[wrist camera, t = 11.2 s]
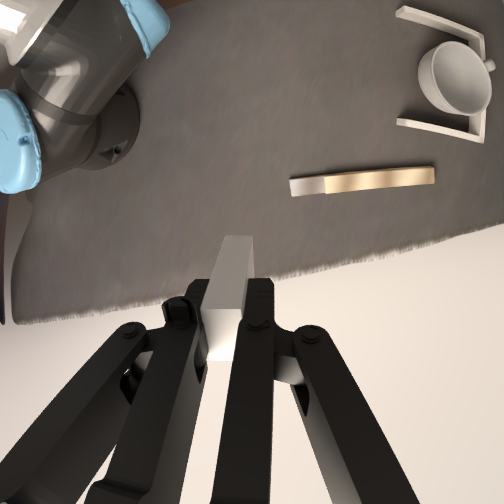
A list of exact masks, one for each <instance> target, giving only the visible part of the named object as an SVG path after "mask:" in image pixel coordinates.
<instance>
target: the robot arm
mask: <svg viewBox="0 0 504 504" xmlns="http://www.w3.org/2000/svg"><path fill="white" fill-rule="evenodd" d="M169 30H170V19H169V17H168V15H167V14H166V12H165V11H164V10H163V9H162V7H161V6H160V5H159V4H158V3H157V1H156V0H0V44H3V45H4V46H5V47H6V51H7V55H8V59H9V63H10V64H11V65H14V66H17V67H19V68H21V69H20V70H19V72H18V74H17V76H16V77H15V79H14V81H13V83H12V85H11V87H10V88H9V90H8V89H1V90H0V191H1V192H3V193H10V194H11V193H17V192H20V191H23V190H27V189H32V188H33V187H35V186H36V185H37V184H39V183H41V182H43V181H46V180H48V179H50V178H52V177H55V176H57V175H59V174H61V173H64V172H66V171H68V170H71V169H73V168H81V169H87V170H98V169H103V168H106V167H108V166H111V165H113V164H115V163H117V162H118V161H120V160H121V159H122V158H123V157H124V156H125V155H126V154H127V153H128V152H129V151H130V149H131V148H132V146H133V144H134V142H135V140H136V137H137V134H138V130H139V122H140V115H139V108H138V104H137V101H136V99H135V97H134V95H133V93H132V92H131V91H130V89H129V88H128V87H127V86H126V85H124V84H123V83H124V82H125V80H126V79H127V78H128V77H129V76H130V75H131V74H132V72H133V71H134V70H135V69H136V68H137V67H138V66H139V65H140V63H141V62H142V61H143V60H144V59H145V58H148V57H149V56H150V55H151V51H152V50H153V49H154V48H155V47H156V46H157V45H158V44H159V43H160V41H161V40H162V39H163V38H164V37H165V36H166V35H167V33H168V32H169ZM162 310H163V314H164V318H165V321H166V323H165V325H164V327H161V328H157V329H151V330H146V328H145V326H144V325H143V324H142V323H139V322H129V323H126V324H123V325H121V326H120V327H119V328H118V329H117V330H116V331H115V332H114V333H113V334H112V335H111V336H110V337H109V338H108V339H107V340H106V341H105V342H104V343H103V345H102V346H101V347H100V348H99V349H98V350H97V351H96V352H95V353H94V354H93V355H92V356H91V358H90V359H89V360H88V361H87V362H86V363H85V364H84V365H83V366H82V367H81V369H80V370H79V371H78V372H77V373H76V374H75V375H74V376H73V377H72V379H71V380H70V381H69V382H68V383H67V384H66V385H65V386H64V388H63V389H62V390H61V391H60V392H59V393H58V394H57V395H56V397H55V398H54V399H53V400H52V401H51V402H50V404H49V405H48V406H47V407H46V408H45V409H44V410H43V412H42V413H41V414H40V415H39V416H38V418H37V419H36V420H35V421H34V422H33V424H32V425H31V426H30V427H29V428H28V429H27V431H26V432H25V433H24V434H23V435H22V437H21V438H20V439H19V440H18V442H17V443H16V444H15V445H14V447H13V448H12V449H11V450H10V451H9V453H8V454H7V455H6V456H5V458H4V459H3V460H2V461H1V463H0V504H76V502H77V501H78V499H79V498H80V496H81V495H82V494H83V492H84V491H85V489H86V488H87V486H88V485H89V483H90V482H91V480H92V479H93V477H94V476H95V475H96V473H97V472H98V470H99V469H100V467H101V466H102V464H103V463H104V461H105V460H106V458H107V457H108V455H109V454H110V452H111V451H112V450H113V448H114V447H115V445H116V447H115V450H114V453H113V456H112V458H111V461H110V464H109V467H108V470H107V473H106V475H105V477H104V478H103V479H102V480H99V481H96V482H94V483H93V484H92V485H91V487H90V489H89V490H88V493H87V496H86V499H85V501H84V504H179V502H180V497H181V491H182V487H183V482H184V477H185V472H186V467H187V463H188V458H189V453H190V448H191V444H192V439H193V434H194V429H195V425H196V420H197V416H198V410H199V406H200V402H201V397H202V393H203V388H204V383H205V379H206V374H207V369H208V367H207V361H206V359H207V354H208V353H209V358H210V360H222V361H233V362H232V368H231V374H230V381H229V387H228V394H227V400H226V407H225V413H224V419H223V426H222V432H221V439H220V445H219V452H218V459H217V465H216V471H215V478H214V484H213V491H212V497H211V501H210V504H270V484H271V460H272V431H273V392H274V380H277V381H281V382H285V383H289V384H290V387H291V390H292V393H293V395H294V398H295V401H296V404H297V407H298V409H299V412H300V415H301V418H302V421H303V423H304V426H305V429H306V432H307V435H308V437H309V440H310V443H311V446H312V448H313V451H314V454H315V457H316V459H317V462H318V465H319V468H320V470H321V473H322V476H323V479H324V481H325V484H326V487H327V489H328V492H329V495H330V498H331V500H332V503H333V504H420V503H419V501H418V499H417V497H416V495H415V493H414V491H413V489H412V487H411V485H410V483H409V481H408V479H407V477H406V475H405V473H404V471H403V469H402V467H401V466H400V464H399V462H398V460H397V458H396V456H395V454H394V452H393V450H392V448H391V446H390V444H389V443H388V441H387V439H386V437H385V435H384V433H383V431H382V429H381V427H380V426H379V424H378V422H377V420H376V418H375V416H374V414H373V413H372V411H371V409H370V407H369V405H368V403H367V402H366V400H365V398H364V396H363V394H362V392H361V391H360V389H359V387H358V385H357V383H356V382H355V380H354V378H353V376H352V374H351V372H350V371H349V369H348V367H347V365H346V364H345V362H344V360H343V358H342V356H341V355H340V353H339V351H338V349H337V348H336V346H335V344H334V343H333V341H332V339H331V337H330V335H329V333H328V332H327V331H326V330H325V329H323V328H321V327H319V326H315V325H305V326H302V327H299V328H298V329H297V330H295V331H294V332H292V331H288V330H284V329H282V328H281V327H279V326H278V325H277V324H276V322H275V320H274V283H273V282H272V281H271V279H270V278H254V260H253V239H252V235H245V236H225V237H224V240H223V243H222V246H221V249H220V252H219V255H218V257H217V260H216V263H215V266H214V269H213V272H212V275H211V278H210V279H195V280H194V281H193V282H192V283H191V284H190V285H189V286H188V289H187V291H186V293H185V296H178V297H173V298H170V299H168V300H166V301H165V302H164V303H163V304H162ZM127 369H129V370H128V371H127ZM126 371H127V372H126ZM125 372H126V373H125ZM124 373H125V374H124Z"/></svg>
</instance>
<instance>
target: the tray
mask: <svg viewBox="0 0 504 504" xmlns="http://www.w3.org/2000/svg"><path fill="white" fill-rule="evenodd" d="M396 17H399V18H403V19H406V20H410V21H414V22H417V23H420V24H424V25H427V26H430V27H433V28H436V29H439V30H442V31H445V32H447V33H450V34H453V35H455V36H458V37H461V38H463V39H466V40H468V43H469V47H470V48H471V49H472V50H473V51H475V52H476V54H477V55H478V56H479V57H480V58H481V60H482V61H483V60H485V45H484V35H483V34H480V33H478V32H476V31H474V30H472V29H469V28H467V27H465V26H462V25H460V24H457V23H455V22H452V21H450V20H447V19H444V18H442V17H439V16H436V15H433V14H430V13H427V12H424V11H421V10H418V9H415V8H411V7H408V6H403V7H401V8H400V9H398V10H397V11H396ZM485 119H486V109H485V110H484V111H483V112H482V113H480V114H478V115H475V116H469V130H468V133H465V132H462V131H458V130H454V129H450V128H446V127H441V126H437V125H433V124H428V123H423V122H418V121H413V120H408V119H400V118H397V125H403V126H408V127H414V128H419V129H424V130H429V131H434V132H438V133H443V134H447V135H452V136H456V137H460V138H464V139H468V140H471V141H475V142H479V143H482V144H484V133H485Z"/></svg>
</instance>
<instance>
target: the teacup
mask: <svg viewBox="0 0 504 504" xmlns="http://www.w3.org/2000/svg"><path fill="white" fill-rule="evenodd" d="M495 68H496V67H495V64H494V62H493V61H492V60H491V59H488V60H483V61H482V60H481V58H480V57H479V56H478V55H477V54H476V52H475V51H473V50H472V49H471V48H470V47H468V46H467V45H465V44H463V43H460V42H455V41H448V42H444V43H442V44H440V45H439V46H437V47H435V48H433V49H431V50H430V51H428V52H427V53H426V54H425V55H424V56H423V57H422V59H421V61H420V63H419V67H418V80H419V84H420V87H421V89H422V91H423V93H424V95H425V96H426V98H427V99H428V100H429V101H430V102H431V103H432V104H433V105H434V106H435V107H437V108H438V109H440V110H442V111H444V112H448V113H452V114H461V115H466V116H475V115H478V114H480V113H482V112H483V111H484V110H485V109H486V108H487V106H488V105H489V102H490V99H491V94H492V86H491V80H490V76H489V73H488V72H490V71H492V70H494V69H495Z"/></svg>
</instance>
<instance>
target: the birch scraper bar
mask: <svg viewBox="0 0 504 504" xmlns="http://www.w3.org/2000/svg"><path fill="white" fill-rule="evenodd" d="M289 180H290V187H291V194H292V196H300V195H308V194H316V193H326V194H328V193H336V192H345V191H354V190H364V189H374V188H384V187H396V186H407V185H420V184H433V183H434V168H433V167H431V166H421V167H404V168H390V169H377V170H366V171H355V172H345V173H335V174H326V175H317V176H309V177H301V178H293V179H289Z"/></svg>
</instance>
